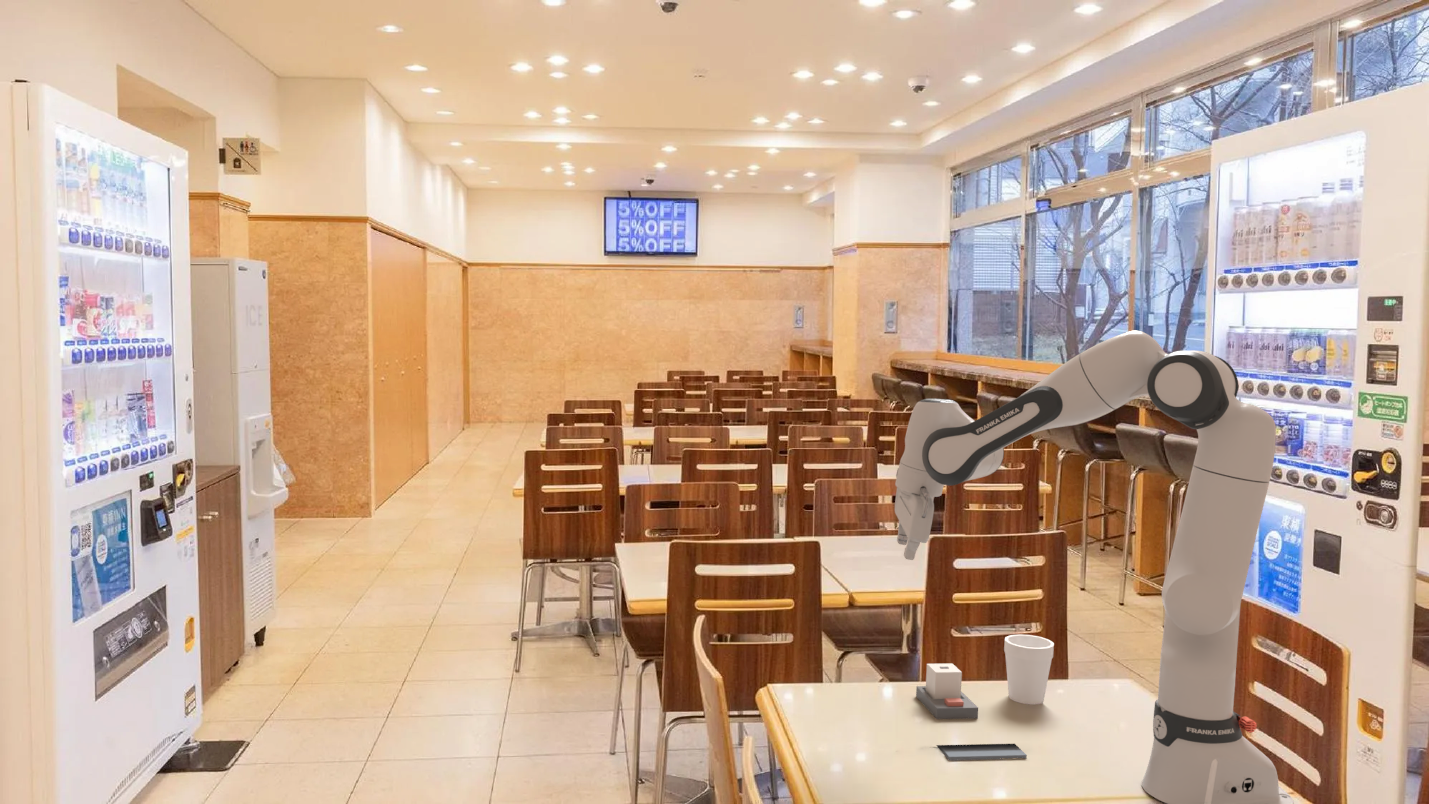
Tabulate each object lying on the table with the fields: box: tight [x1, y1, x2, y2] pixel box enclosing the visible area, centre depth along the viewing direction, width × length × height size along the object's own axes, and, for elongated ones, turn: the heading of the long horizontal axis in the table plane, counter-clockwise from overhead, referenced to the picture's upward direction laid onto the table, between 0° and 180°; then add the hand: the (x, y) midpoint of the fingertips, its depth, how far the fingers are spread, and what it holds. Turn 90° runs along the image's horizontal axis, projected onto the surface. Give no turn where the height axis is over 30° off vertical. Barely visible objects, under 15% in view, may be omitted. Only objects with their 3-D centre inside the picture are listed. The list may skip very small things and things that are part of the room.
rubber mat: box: [935, 743, 1028, 761], centre depth 185 cm, size 14×12×1 cm
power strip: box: [915, 685, 979, 720], centre depth 200 cm, size 8×12×4 cm, turn 7°
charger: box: [925, 662, 963, 699], centre depth 202 cm, size 5×5×7 cm
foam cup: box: [1003, 634, 1055, 705], centre depth 206 cm, size 10×9×13 cm
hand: (904, 550), depth 198 cm, fingers open, 8 cm apart
